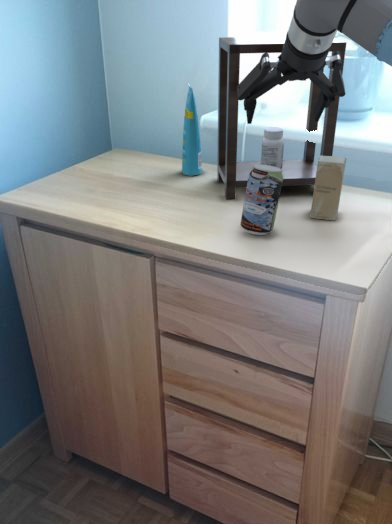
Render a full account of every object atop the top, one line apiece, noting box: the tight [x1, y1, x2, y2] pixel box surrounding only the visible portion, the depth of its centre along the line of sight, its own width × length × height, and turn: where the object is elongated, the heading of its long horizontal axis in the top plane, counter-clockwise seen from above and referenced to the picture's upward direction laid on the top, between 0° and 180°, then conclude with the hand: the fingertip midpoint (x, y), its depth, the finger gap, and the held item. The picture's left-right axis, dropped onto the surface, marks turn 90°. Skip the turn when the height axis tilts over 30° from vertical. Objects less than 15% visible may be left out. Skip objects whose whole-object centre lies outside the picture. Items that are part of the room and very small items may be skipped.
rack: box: [216, 35, 347, 201], centre depth 117 cm, size 14×22×29 cm, turn 96°
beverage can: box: [240, 164, 283, 236], centre depth 100 cm, size 6×7×12 cm
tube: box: [181, 83, 203, 177], centre depth 129 cm, size 7×5×19 cm, turn 12°
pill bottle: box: [260, 126, 285, 170], centre depth 120 cm, size 5×5×8 cm
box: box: [309, 155, 348, 221], centre depth 107 cm, size 5×4×11 cm
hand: (282, 116), depth 111 cm, fingers open, 13 cm apart
